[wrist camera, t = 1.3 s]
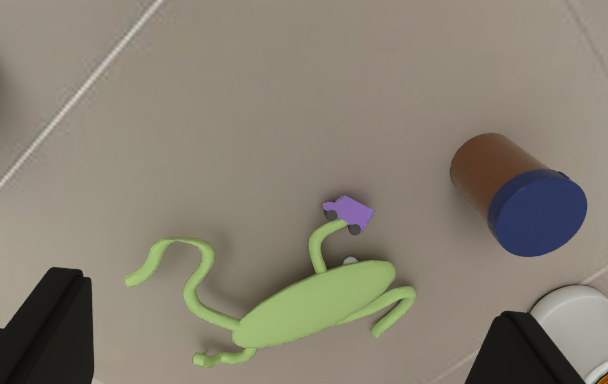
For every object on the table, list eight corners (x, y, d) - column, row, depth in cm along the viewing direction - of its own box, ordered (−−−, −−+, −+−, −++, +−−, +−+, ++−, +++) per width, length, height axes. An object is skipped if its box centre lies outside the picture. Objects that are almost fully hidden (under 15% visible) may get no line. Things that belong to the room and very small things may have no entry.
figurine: (123, 220, 41) (104, 255, 36) (406, 171, 41) (425, 200, 36) (179, 358, 50) (169, 402, 45) (413, 317, 50) (429, 357, 45)
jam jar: (475, 122, 40) (532, 165, 31) (531, 148, 41) (598, 195, 33) (437, 182, 42) (480, 236, 34) (491, 204, 44) (544, 261, 36)
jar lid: (523, 154, 32) (535, 163, 31) (592, 186, 34) (607, 196, 33) (469, 229, 35) (478, 241, 34) (536, 255, 37) (547, 267, 35)
